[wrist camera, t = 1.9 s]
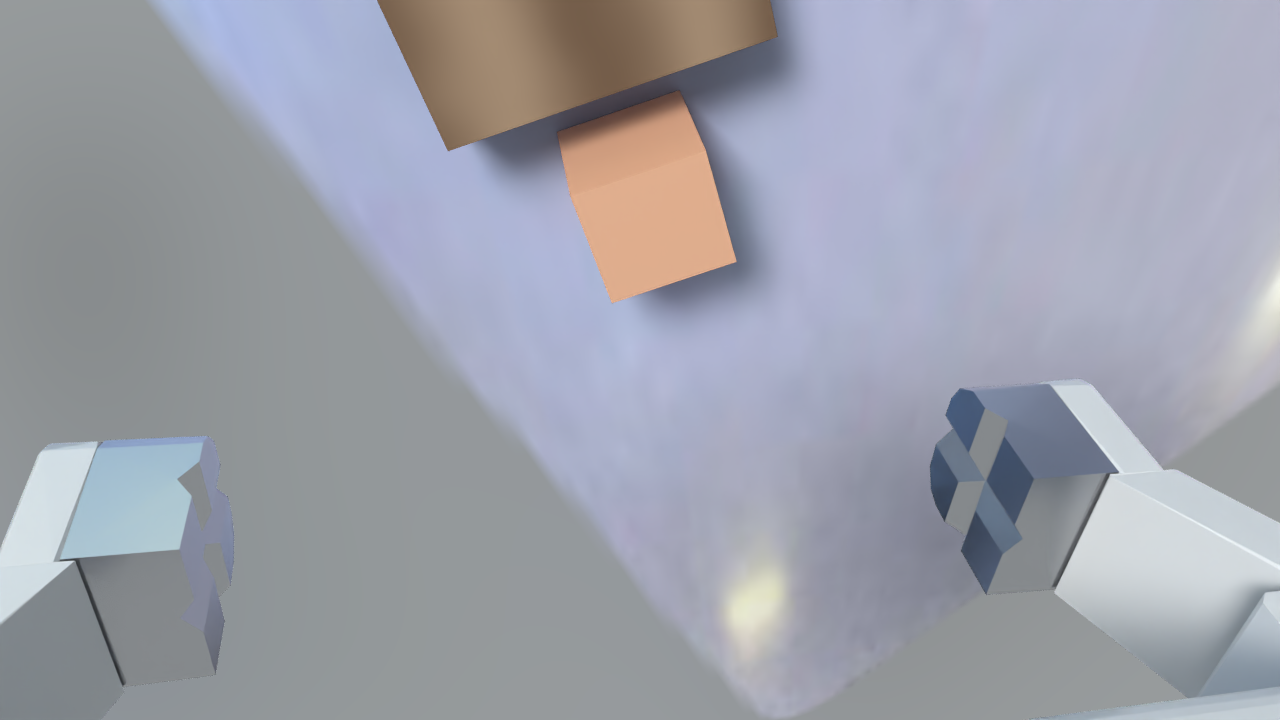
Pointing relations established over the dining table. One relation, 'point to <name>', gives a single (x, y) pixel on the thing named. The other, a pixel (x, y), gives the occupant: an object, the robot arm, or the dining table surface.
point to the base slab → (555, 52)
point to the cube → (646, 196)
